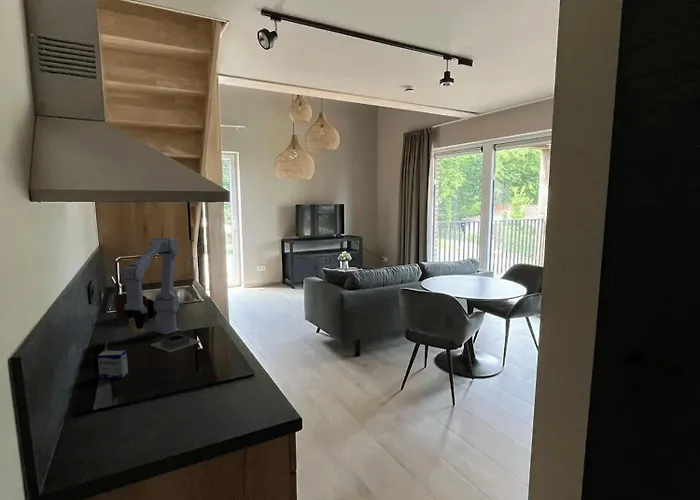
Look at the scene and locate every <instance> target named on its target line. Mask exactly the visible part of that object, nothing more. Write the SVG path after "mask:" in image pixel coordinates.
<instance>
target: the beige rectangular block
mask: <svg viewBox="0 0 700 500" xmlns="http://www.w3.org/2000/svg"><path fill="white" fill-rule="evenodd" d="M128 325H129V326H128V327H129V333H130V334H132V335H138V334H142V333H145V324H144V325H143V328H141V329H137V327H136V323H135V319H134V318H130V319H129V320H128Z"/></svg>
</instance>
